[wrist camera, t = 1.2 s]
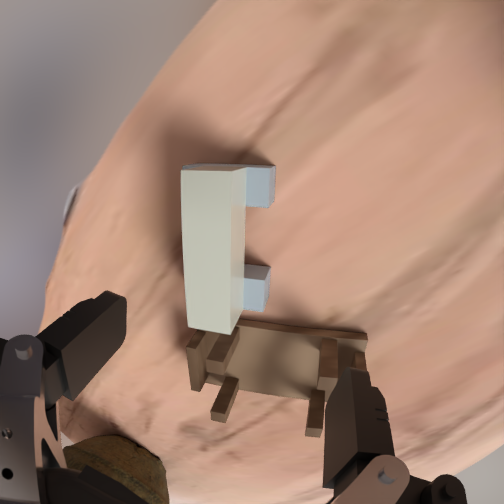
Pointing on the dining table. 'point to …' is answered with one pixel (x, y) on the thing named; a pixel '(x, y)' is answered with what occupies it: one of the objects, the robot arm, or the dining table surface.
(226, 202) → the white rectangular block
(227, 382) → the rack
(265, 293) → the pair of grey blocks
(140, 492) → the clay pot
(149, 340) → the dining table surface
